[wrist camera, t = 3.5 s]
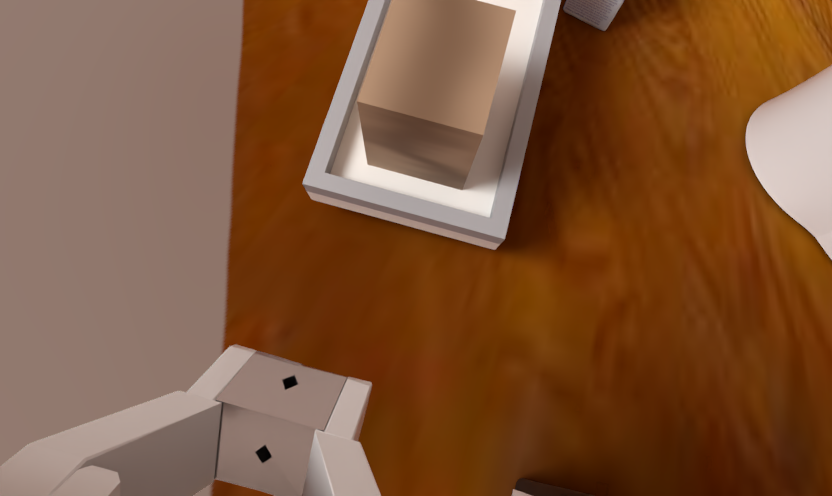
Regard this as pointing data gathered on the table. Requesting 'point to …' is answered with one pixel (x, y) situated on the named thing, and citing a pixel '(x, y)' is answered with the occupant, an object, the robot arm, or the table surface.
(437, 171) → the walnut block
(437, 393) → the table surface
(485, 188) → the white flat rectangular tray
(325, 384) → the robot arm
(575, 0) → the medicine box
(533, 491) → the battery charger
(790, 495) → the table surface
